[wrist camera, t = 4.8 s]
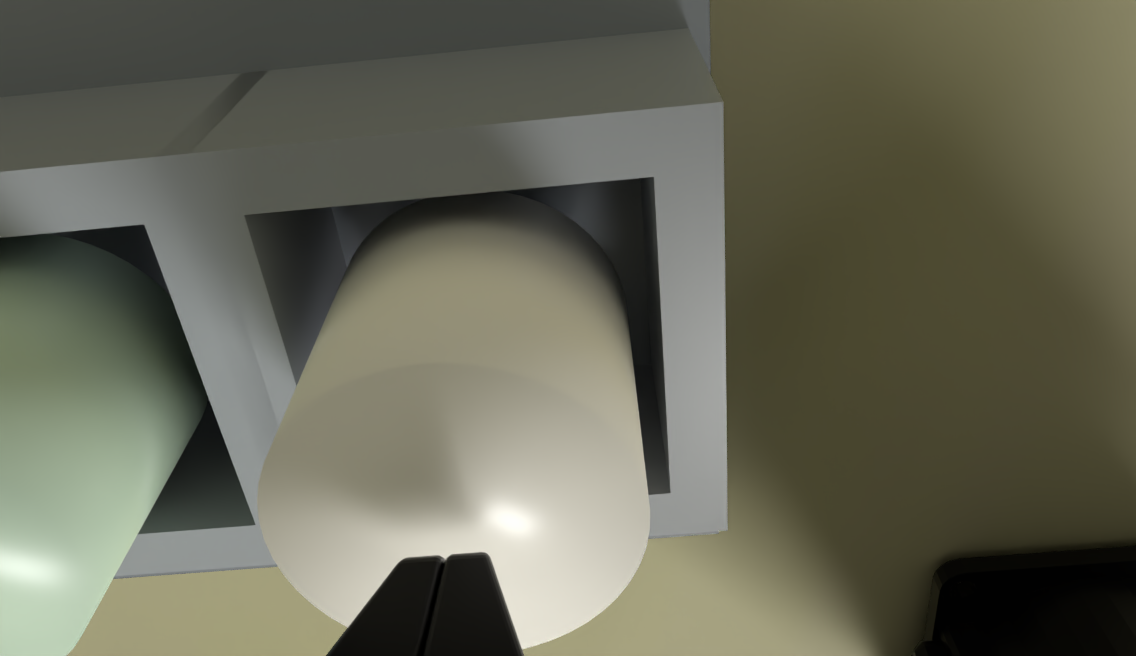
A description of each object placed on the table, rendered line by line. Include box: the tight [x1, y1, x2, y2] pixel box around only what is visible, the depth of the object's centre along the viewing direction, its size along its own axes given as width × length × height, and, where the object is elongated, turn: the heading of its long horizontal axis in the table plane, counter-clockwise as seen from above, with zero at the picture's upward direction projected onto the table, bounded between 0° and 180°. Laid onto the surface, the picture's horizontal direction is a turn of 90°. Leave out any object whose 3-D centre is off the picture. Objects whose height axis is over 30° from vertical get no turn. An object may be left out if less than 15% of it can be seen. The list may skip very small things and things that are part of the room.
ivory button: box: [257, 191, 650, 649], centre depth 11 cm, size 4×4×4 cm
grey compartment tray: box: [0, 0, 728, 579], centre depth 14 cm, size 19×13×4 cm
